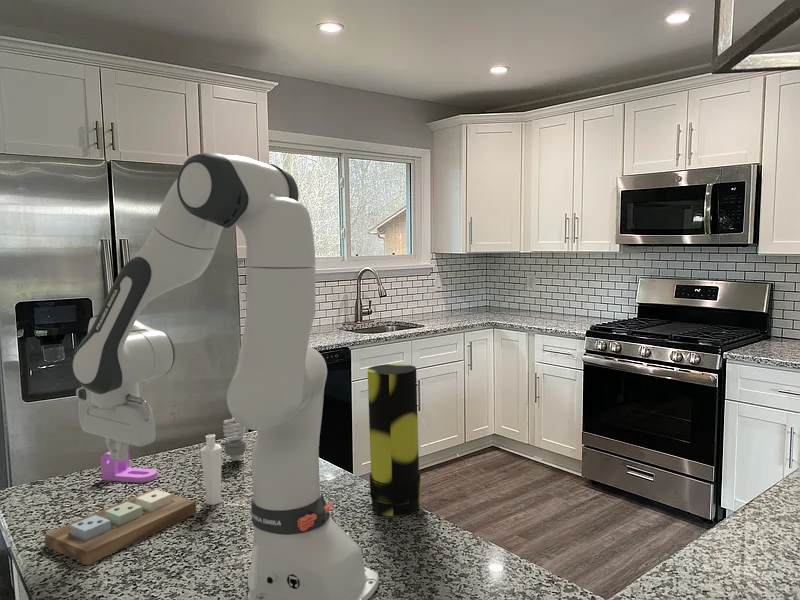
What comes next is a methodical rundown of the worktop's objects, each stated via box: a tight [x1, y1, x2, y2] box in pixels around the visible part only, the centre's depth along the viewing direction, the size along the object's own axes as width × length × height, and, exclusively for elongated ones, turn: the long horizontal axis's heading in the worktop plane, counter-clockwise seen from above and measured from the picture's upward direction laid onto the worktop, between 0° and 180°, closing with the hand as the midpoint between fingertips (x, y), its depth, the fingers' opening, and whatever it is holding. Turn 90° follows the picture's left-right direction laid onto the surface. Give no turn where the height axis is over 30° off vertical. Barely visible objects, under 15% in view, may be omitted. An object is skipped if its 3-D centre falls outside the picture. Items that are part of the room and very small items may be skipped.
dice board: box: [44, 488, 197, 566], centre depth 121 cm, size 14×24×2 cm, turn 148°
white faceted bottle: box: [199, 434, 224, 506], centre depth 133 cm, size 5×4×15 cm
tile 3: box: [70, 515, 111, 542], centre depth 115 cm, size 5×5×3 cm
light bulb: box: [222, 416, 246, 462], centre depth 158 cm, size 6×6×12 cm
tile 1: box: [136, 489, 173, 512], centre depth 127 cm, size 5×5×3 cm
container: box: [367, 363, 422, 517], centre depth 127 cm, size 11×11×30 cm
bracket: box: [100, 449, 158, 483], centre depth 149 cm, size 13×6×7 cm, turn 77°
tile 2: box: [105, 502, 143, 526], centre depth 121 cm, size 5×5×3 cm
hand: (118, 459), depth 120 cm, fingers closed
